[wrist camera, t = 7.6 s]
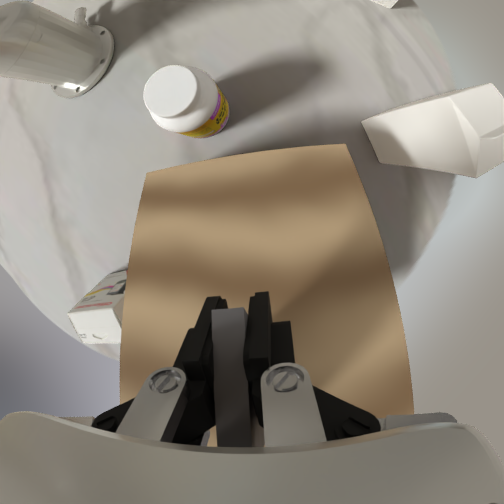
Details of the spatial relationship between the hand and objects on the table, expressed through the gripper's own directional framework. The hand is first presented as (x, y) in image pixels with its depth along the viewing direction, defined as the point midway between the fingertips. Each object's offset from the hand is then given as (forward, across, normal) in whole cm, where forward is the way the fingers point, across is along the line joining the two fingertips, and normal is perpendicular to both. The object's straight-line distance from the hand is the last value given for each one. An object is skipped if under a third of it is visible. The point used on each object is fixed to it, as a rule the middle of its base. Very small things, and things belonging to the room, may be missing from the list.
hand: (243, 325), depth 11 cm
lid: (+5, 0, 0) cm, 5 cm away
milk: (+25, -18, -8) cm, 32 cm away
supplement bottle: (+25, +5, -13) cm, 29 cm away
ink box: (+25, +20, +8) cm, 33 cm away
